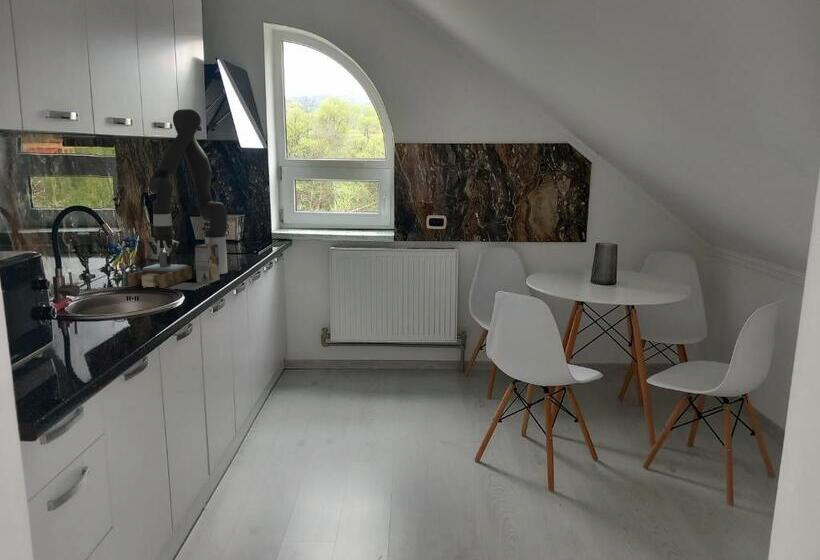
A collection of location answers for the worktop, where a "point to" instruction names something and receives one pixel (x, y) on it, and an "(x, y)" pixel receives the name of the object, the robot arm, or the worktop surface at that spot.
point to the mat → (188, 286)
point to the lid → (164, 265)
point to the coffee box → (207, 263)
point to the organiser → (162, 277)
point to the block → (150, 280)
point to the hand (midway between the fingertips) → (165, 263)
